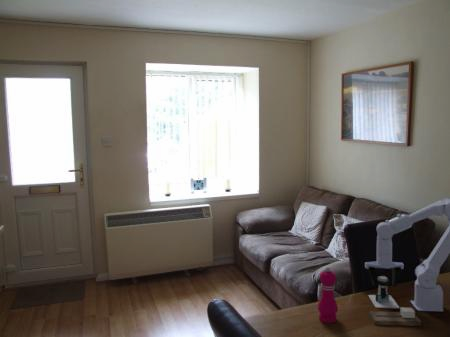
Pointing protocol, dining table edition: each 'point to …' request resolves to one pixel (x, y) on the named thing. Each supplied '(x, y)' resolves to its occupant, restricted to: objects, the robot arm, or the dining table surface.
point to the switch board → (392, 319)
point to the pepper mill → (327, 297)
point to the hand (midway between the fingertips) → (383, 285)
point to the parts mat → (383, 305)
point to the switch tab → (407, 312)
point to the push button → (382, 289)
